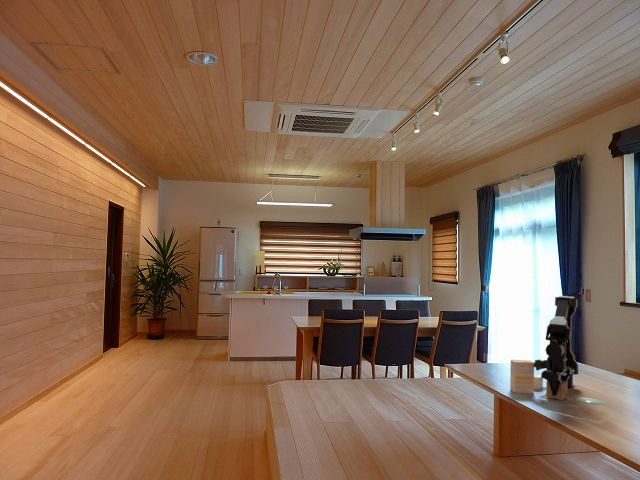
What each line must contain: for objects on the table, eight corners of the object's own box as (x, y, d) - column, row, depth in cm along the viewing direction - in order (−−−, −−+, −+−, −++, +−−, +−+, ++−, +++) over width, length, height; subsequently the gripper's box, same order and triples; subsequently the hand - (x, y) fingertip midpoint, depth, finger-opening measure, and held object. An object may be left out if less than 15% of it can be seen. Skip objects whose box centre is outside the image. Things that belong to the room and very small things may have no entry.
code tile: (547, 394, 200) (547, 392, 200) (574, 399, 193) (574, 398, 193) (539, 398, 193) (539, 397, 193) (566, 404, 186) (566, 403, 186)
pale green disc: (580, 396, 198) (580, 395, 198) (608, 402, 191) (608, 401, 191) (572, 401, 190) (572, 400, 190) (601, 407, 183) (601, 406, 183)
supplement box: (530, 392, 202) (530, 360, 203) (533, 395, 197) (534, 362, 198) (509, 390, 203) (510, 359, 204) (512, 393, 198) (513, 361, 199)
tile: (527, 384, 215) (527, 383, 215) (549, 388, 209) (549, 388, 209) (519, 387, 208) (519, 387, 208) (541, 392, 202) (541, 391, 202)
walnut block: (551, 393, 197) (551, 378, 197) (567, 397, 193) (567, 381, 193) (546, 396, 193) (546, 381, 193) (562, 399, 189) (562, 384, 189)
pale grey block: (530, 385, 212) (530, 373, 212) (542, 387, 208) (542, 376, 209) (526, 387, 208) (526, 375, 208) (538, 389, 205) (538, 377, 205)
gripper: (544, 349, 206) (543, 386, 205) (528, 354, 192) (527, 394, 192) (573, 353, 198) (572, 391, 198) (558, 358, 185) (557, 400, 184)
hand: (556, 394), depth 193 cm, fingers closed on walnut block, 6 cm apart
